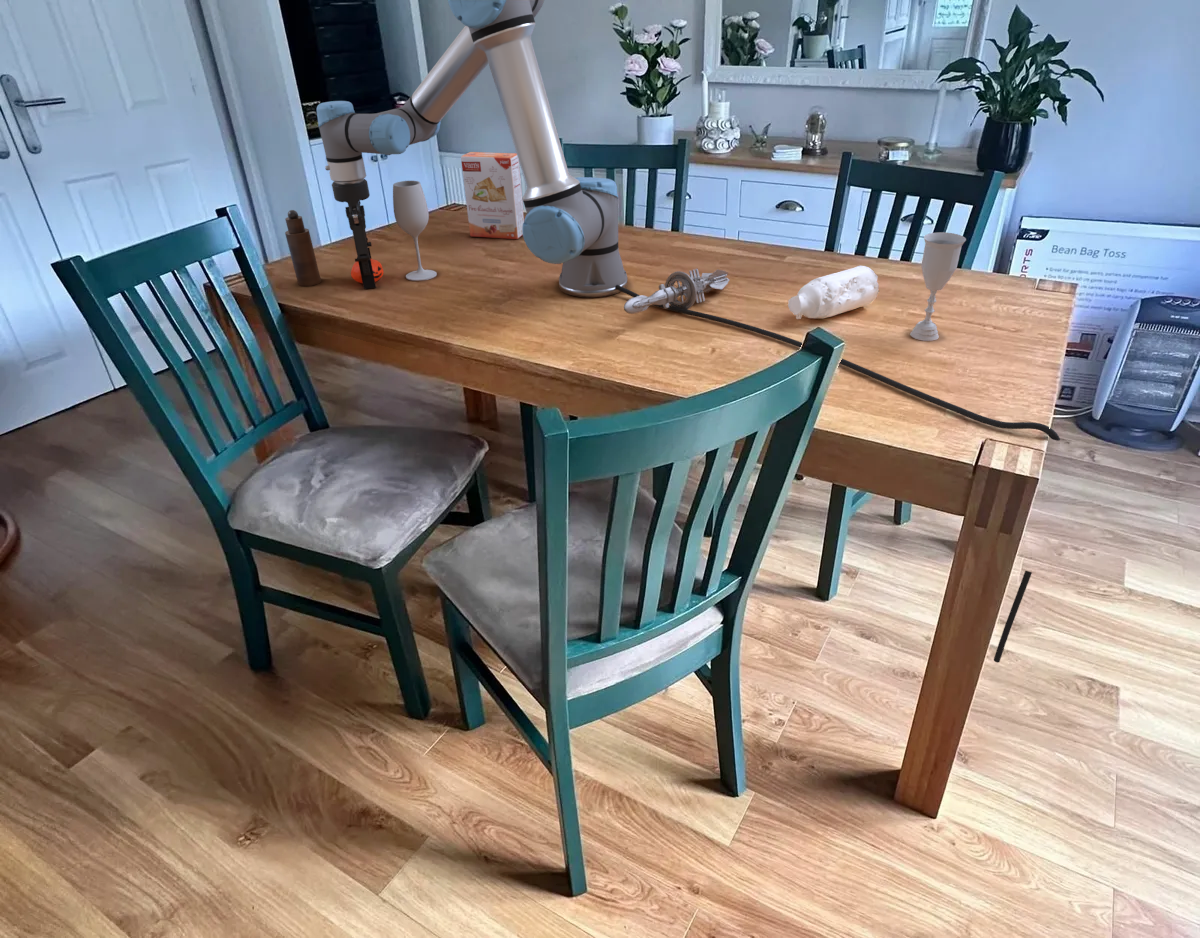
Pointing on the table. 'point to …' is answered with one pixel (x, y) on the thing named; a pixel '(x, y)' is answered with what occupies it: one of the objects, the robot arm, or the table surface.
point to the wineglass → (412, 219)
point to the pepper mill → (301, 251)
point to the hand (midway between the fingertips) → (369, 281)
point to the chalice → (937, 275)
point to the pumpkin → (375, 266)
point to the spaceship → (679, 291)
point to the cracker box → (493, 194)
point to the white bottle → (835, 293)
